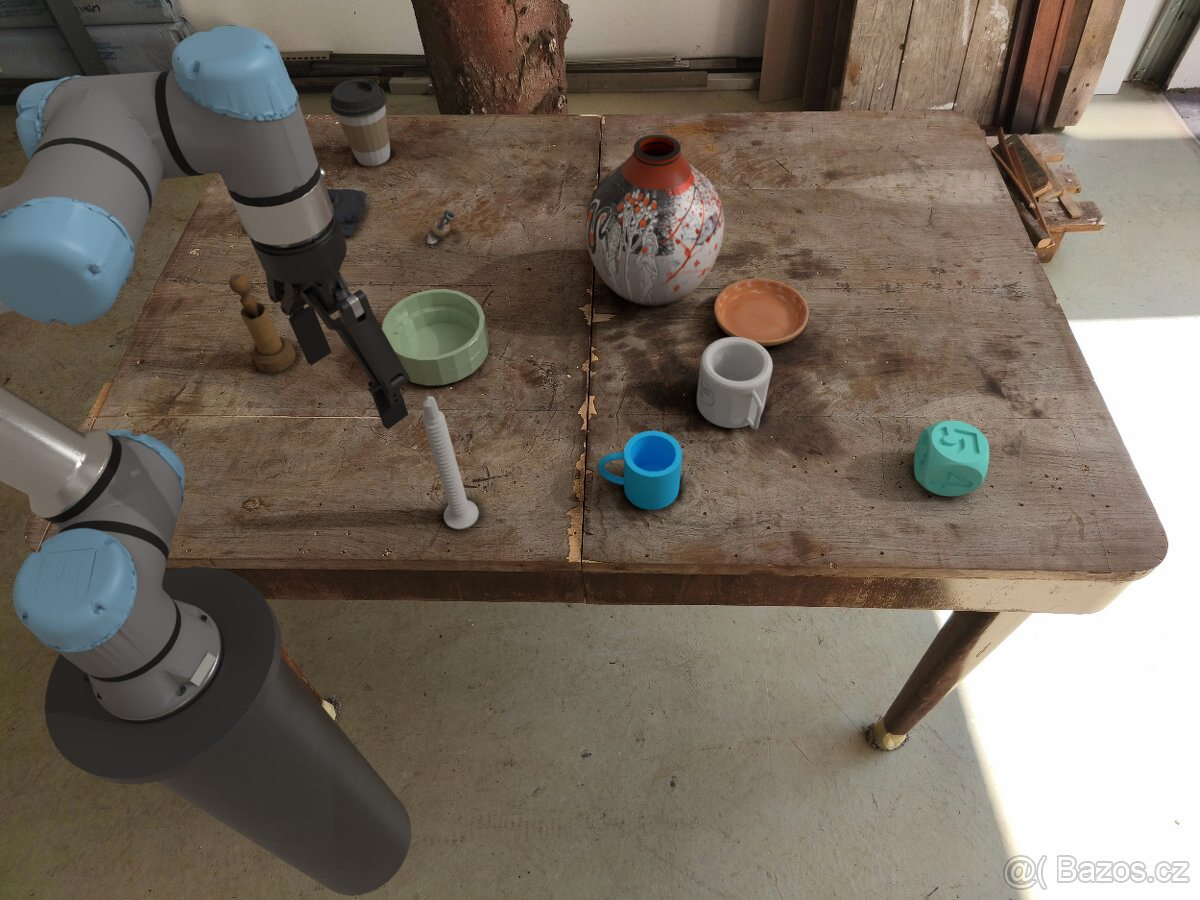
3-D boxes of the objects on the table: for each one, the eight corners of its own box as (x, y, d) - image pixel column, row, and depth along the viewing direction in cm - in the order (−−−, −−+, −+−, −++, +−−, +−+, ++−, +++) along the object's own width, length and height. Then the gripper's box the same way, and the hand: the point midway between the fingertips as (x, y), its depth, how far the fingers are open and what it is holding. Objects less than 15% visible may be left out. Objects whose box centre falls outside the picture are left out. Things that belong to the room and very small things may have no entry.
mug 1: (680, 466, 122) (683, 432, 115) (677, 512, 117) (680, 479, 110) (601, 460, 123) (600, 426, 116) (595, 505, 118) (593, 472, 111)
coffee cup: (410, 155, 174) (395, 88, 162) (368, 178, 169) (348, 111, 157) (378, 136, 179) (361, 69, 167) (336, 158, 174) (315, 91, 162)
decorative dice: (972, 500, 117) (992, 467, 110) (915, 493, 118) (932, 460, 111) (966, 456, 122) (985, 422, 115) (911, 450, 122) (927, 416, 116)
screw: (439, 377, 99) (454, 404, 96) (470, 495, 119) (483, 520, 116) (400, 392, 98) (415, 420, 95) (438, 509, 118) (451, 534, 115)
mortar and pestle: (281, 377, 135) (240, 295, 120) (248, 367, 136) (205, 285, 122) (303, 350, 138) (267, 267, 124) (271, 341, 140) (232, 258, 126)
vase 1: (462, 231, 158) (457, 205, 153) (454, 248, 154) (449, 222, 150) (435, 228, 158) (430, 202, 153) (427, 246, 155) (421, 220, 150)
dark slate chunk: (272, 189, 167) (264, 168, 164) (374, 196, 165) (368, 176, 161) (242, 235, 158) (232, 214, 154) (349, 243, 156) (342, 223, 152)
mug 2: (684, 390, 131) (688, 346, 123) (743, 371, 133) (751, 327, 125) (723, 451, 123) (730, 409, 115) (785, 430, 125) (796, 387, 117)
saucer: (699, 337, 138) (700, 324, 136) (731, 280, 147) (733, 268, 145) (789, 365, 134) (792, 352, 131) (817, 305, 142) (820, 292, 140)
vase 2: (571, 318, 142) (562, 179, 120) (606, 237, 155) (604, 98, 133) (702, 342, 138) (718, 201, 115) (727, 256, 151) (745, 116, 129)
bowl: (385, 391, 132) (375, 361, 127) (398, 321, 142) (389, 290, 137) (486, 387, 132) (480, 357, 127) (492, 317, 142) (486, 287, 137)
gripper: (417, 263, 66) (459, 427, 83) (251, 151, 77) (318, 316, 94) (342, 311, 63) (401, 471, 80) (179, 186, 73) (262, 351, 90)
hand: (356, 388), depth 87 cm, fingers open, 13 cm apart
